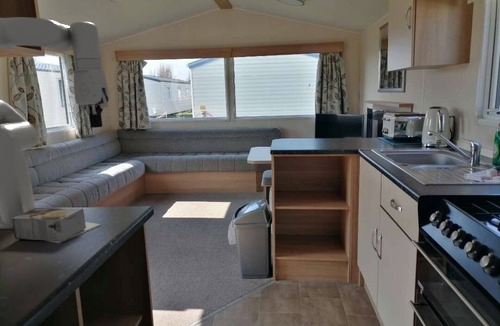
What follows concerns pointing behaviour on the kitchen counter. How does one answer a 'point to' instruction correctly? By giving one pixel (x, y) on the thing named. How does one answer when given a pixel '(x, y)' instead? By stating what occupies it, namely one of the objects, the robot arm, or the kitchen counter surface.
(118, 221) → the kitchen counter surface
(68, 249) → the kitchen counter surface
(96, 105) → the robot arm
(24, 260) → the kitchen counter surface
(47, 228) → the coffee box
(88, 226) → the mat
